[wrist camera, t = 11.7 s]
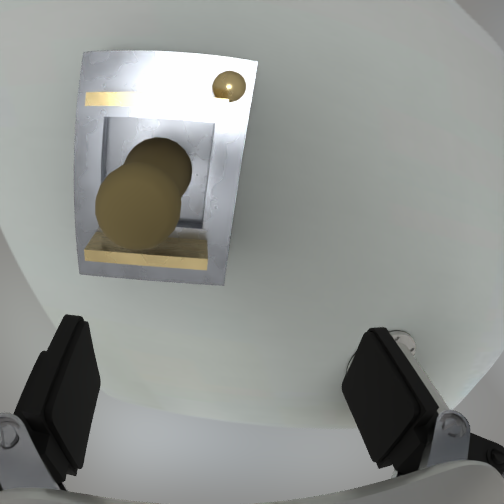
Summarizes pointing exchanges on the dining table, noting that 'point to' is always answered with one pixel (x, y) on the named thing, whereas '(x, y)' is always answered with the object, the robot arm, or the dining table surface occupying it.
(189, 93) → the grey slotted box
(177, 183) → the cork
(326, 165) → the dining table surface
